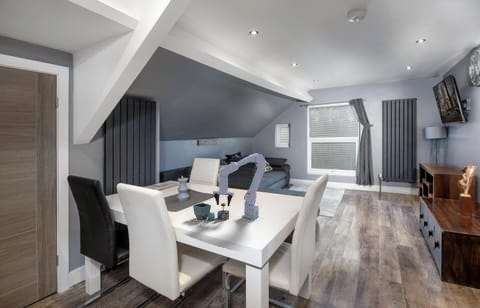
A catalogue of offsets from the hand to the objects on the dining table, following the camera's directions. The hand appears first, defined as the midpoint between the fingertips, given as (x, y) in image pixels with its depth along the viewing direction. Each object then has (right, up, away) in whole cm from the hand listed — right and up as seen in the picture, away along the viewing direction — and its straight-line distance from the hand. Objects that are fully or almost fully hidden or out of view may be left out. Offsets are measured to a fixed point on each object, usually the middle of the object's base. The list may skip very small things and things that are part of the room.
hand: (223, 205), depth 160 cm
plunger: (0, -5, 0) cm, 5 cm away
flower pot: (-14, -9, 0) cm, 17 cm away
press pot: (0, -9, +1) cm, 9 cm away
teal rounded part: (-8, -9, -3) cm, 12 cm away
